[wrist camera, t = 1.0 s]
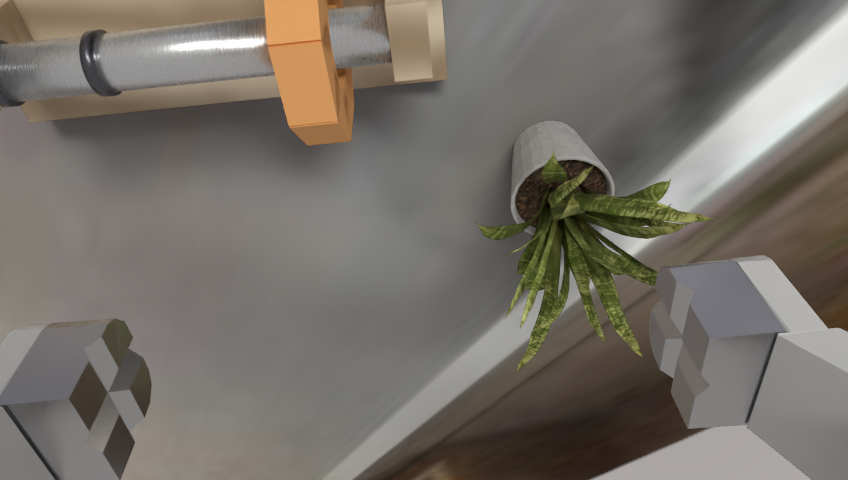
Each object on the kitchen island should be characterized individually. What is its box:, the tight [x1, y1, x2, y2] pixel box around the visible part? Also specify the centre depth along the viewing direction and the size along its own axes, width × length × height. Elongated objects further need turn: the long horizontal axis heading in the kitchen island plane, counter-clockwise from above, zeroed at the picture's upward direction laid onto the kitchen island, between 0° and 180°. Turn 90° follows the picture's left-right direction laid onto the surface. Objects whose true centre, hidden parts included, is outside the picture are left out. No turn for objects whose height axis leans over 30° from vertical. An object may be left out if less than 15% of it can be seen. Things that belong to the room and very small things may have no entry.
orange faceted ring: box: [264, 0, 354, 146], centre depth 33 cm, size 10×2×10 cm, turn 5°
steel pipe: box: [0, 3, 392, 107], centre depth 34 cm, size 3×26×3 cm, turn 95°
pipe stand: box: [0, 0, 448, 123], centre depth 36 cm, size 12×28×10 cm, turn 95°
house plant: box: [475, 121, 715, 371], centre depth 43 cm, size 14×14×16 cm
